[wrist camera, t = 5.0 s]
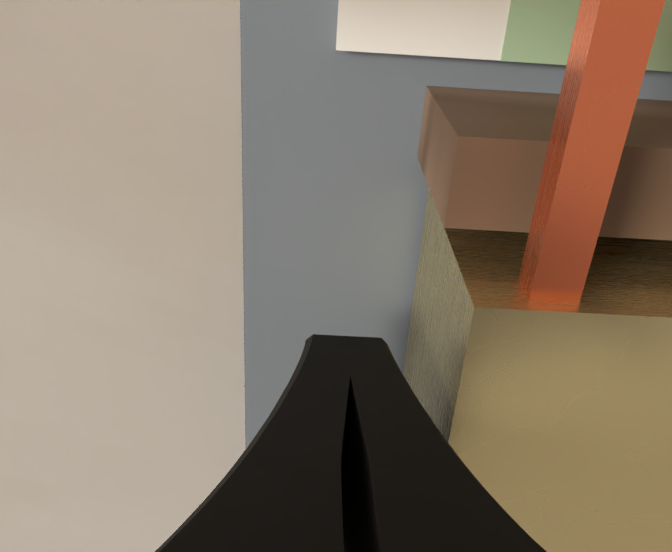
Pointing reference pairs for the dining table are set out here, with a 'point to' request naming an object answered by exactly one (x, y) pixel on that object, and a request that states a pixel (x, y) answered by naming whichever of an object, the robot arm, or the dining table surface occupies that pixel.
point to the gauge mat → (339, 183)
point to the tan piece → (560, 325)
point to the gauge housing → (512, 111)
